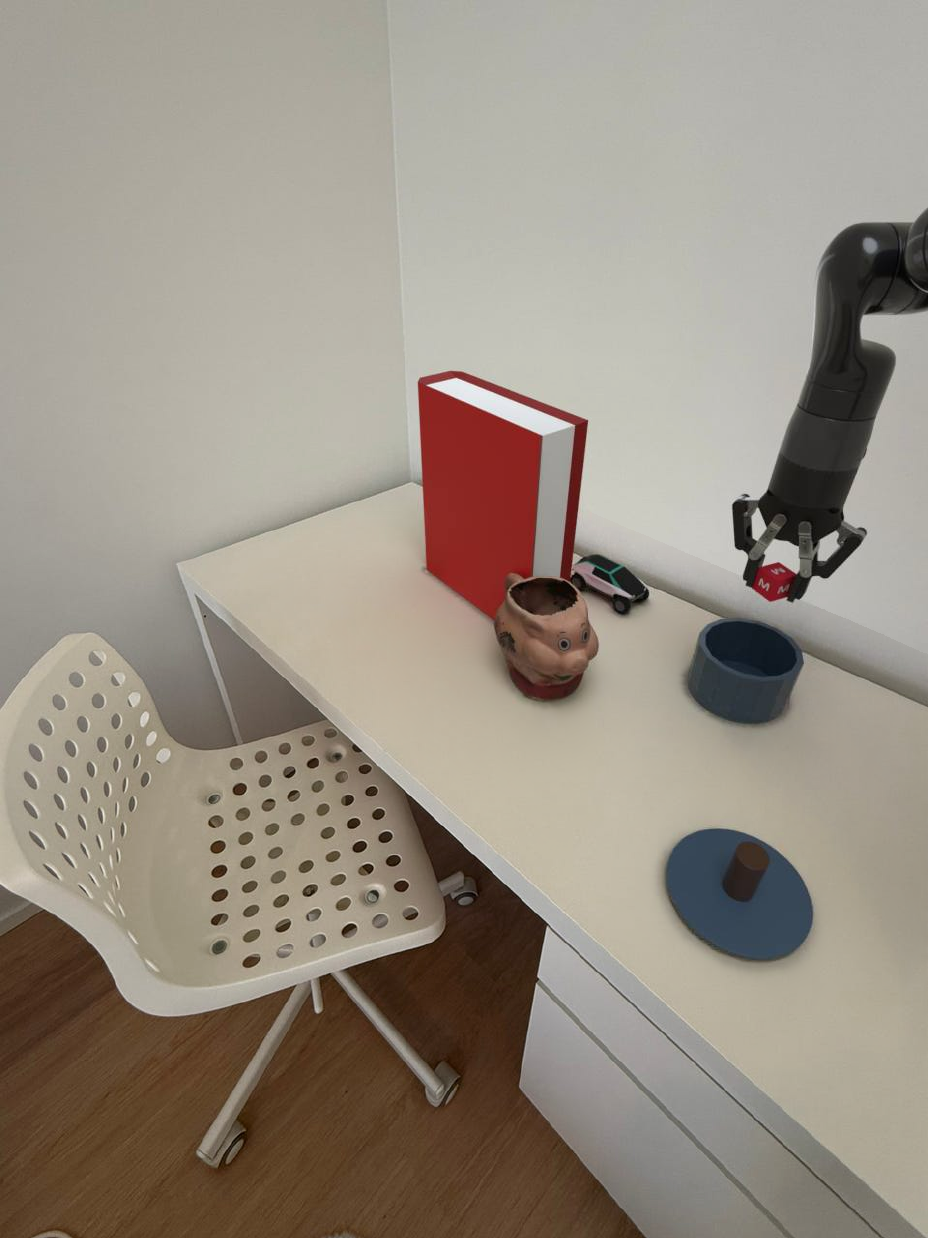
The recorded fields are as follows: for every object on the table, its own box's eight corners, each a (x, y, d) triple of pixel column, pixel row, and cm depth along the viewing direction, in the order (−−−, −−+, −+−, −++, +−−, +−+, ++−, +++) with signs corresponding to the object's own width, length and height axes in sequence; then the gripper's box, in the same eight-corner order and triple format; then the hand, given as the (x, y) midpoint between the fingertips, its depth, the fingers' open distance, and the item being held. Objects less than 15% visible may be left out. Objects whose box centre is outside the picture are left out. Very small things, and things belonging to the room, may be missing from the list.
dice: (769, 602, 74) (777, 580, 72) (751, 588, 76) (758, 567, 75) (790, 596, 75) (798, 575, 73) (771, 583, 77) (778, 561, 76)
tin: (798, 685, 88) (816, 642, 84) (766, 739, 81) (784, 695, 76) (709, 648, 95) (721, 606, 90) (672, 694, 87) (683, 651, 83)
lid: (827, 885, 65) (850, 846, 61) (782, 997, 57) (806, 960, 53) (697, 813, 72) (711, 773, 68) (640, 903, 64) (652, 864, 60)
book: (565, 624, 100) (588, 420, 80) (526, 644, 96) (540, 435, 76) (458, 551, 117) (456, 369, 97) (422, 566, 113) (412, 379, 94)
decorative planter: (464, 646, 95) (463, 566, 87) (532, 621, 100) (538, 543, 92) (542, 733, 81) (550, 648, 73) (617, 699, 86) (633, 616, 78)
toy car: (589, 572, 111) (593, 545, 108) (648, 602, 104) (654, 574, 101) (567, 585, 108) (570, 558, 105) (625, 617, 101) (630, 589, 98)
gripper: (737, 446, 67) (700, 583, 77) (890, 485, 59) (826, 630, 70) (762, 425, 71) (723, 557, 82) (907, 458, 64) (844, 599, 75)
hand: (771, 590), depth 76 cm, fingers closed on dice, 4 cm apart
